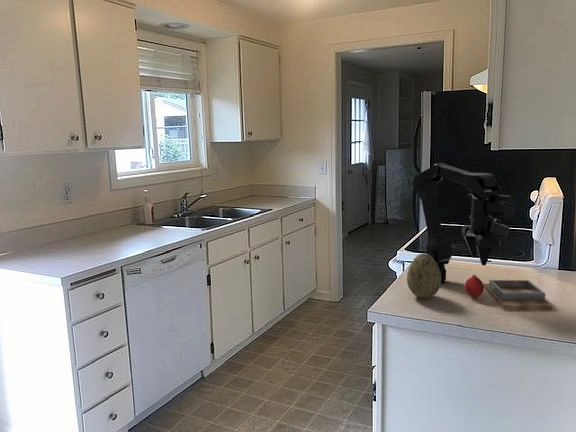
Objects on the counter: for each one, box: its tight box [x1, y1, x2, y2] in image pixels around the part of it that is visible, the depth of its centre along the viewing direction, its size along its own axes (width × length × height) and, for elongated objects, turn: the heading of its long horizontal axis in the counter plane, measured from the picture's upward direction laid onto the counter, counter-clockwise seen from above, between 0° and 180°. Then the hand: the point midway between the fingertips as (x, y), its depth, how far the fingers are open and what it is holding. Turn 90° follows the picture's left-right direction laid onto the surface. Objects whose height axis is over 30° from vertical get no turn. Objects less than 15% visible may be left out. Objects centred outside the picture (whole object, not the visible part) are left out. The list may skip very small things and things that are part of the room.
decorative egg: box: [406, 252, 442, 299], centre depth 153 cm, size 11×11×15 cm
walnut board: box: [482, 282, 553, 311], centre depth 151 cm, size 14×20×2 cm
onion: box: [464, 274, 485, 299], centre depth 152 cm, size 6×6×8 cm
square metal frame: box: [488, 279, 546, 301], centre depth 151 cm, size 13×13×2 cm
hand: (478, 261), depth 151 cm, fingers open, 9 cm apart
